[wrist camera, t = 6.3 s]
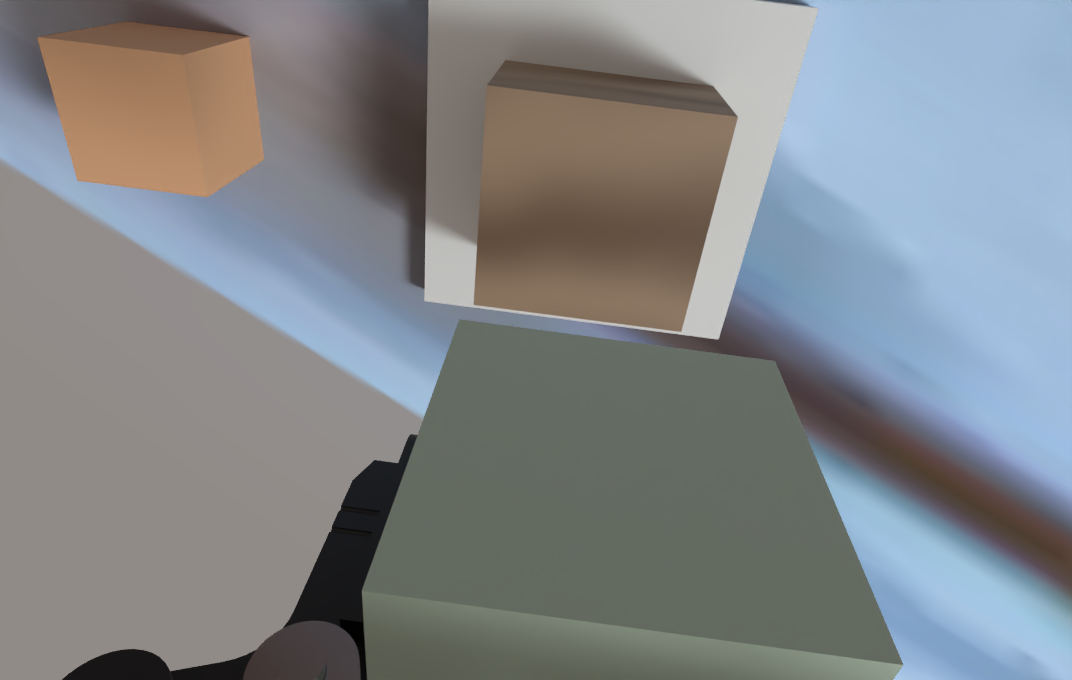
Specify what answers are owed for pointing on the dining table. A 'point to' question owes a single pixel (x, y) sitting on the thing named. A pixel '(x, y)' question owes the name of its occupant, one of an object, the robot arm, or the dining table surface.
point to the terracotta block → (155, 105)
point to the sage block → (615, 525)
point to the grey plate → (618, 48)
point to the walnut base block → (597, 193)
